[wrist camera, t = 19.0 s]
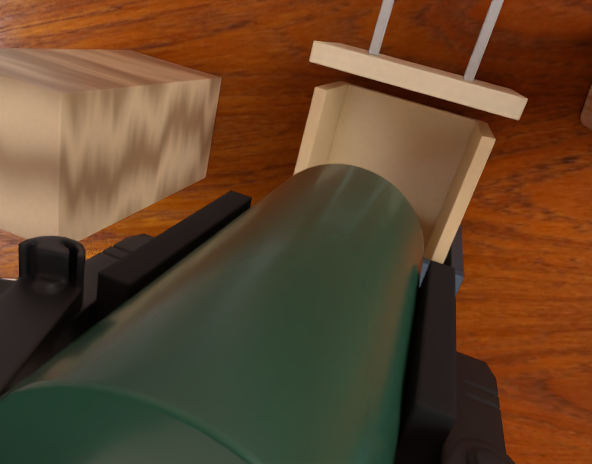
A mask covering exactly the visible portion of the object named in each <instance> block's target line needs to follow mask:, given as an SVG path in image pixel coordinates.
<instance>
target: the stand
mask: <svg viewBox="0 0 592 464" xmlns="http://www.w3.org/2000/svg"><path fill="white" fill-rule="evenodd" d="M221 80H222V78H221V77H218V76H215V75H212V74H208V73H205V72H202V71H198V70H195V69H192V68H188V67H185V66H182V65H178V64H175V63H172V62H168V61H165V60H162V59H158V58H155V57H152V56H148V55H145V54H142V53H138V52H135V51H132V50H96V49H18V48H0V229H2V230H5V231H7V232H9V233H12V234H14V235H17V236H19V237H22V238H24V239H31V238H35V237H39V236H61V237H67V238H70V239H73V240H76V241H80V240H82V239H84V238H86V237H88V236H90V235H92V234H94V233H96V232H98V231H100V230H102V229H104V228H106V227H108V226H110V225H112V224H114V223H116V222H118V221H120V220H122V219H124V218H126V217H128V216H130V215H132V214H134V213H136V212H138V211H140V210H142V209H144V208H146V207H148V206H150V205H152V204H154V203H156V202H158V201H160V200H162V199H164V198H166V197H168V196H170V195H172V194H174V193H176V192H178V191H180V190H182V189H184V188H186V187H188V186H190V185H192V184H194V183H196V182H198V181H200V180H202V179H204V178H205V177H206V172H207V166H208V160H209V154H210V148H211V141H212V135H213V129H214V123H215V117H216V111H217V105H218V98H219V92H220V86H221Z"/></svg>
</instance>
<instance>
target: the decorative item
mask: <svg viewBox="0 0 592 464" xmlns="http://www.w3.org/2000/svg"><path fill="white" fill-rule="evenodd" d="M580 117H581V124H583V125H584V126H586V127H587V128H589V129H591V130H592V84H591V87H590V90H589V93H588V96H587V99H586V101H585V104H584V107H583V110H582V113H581V116H580Z"/></svg>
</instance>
